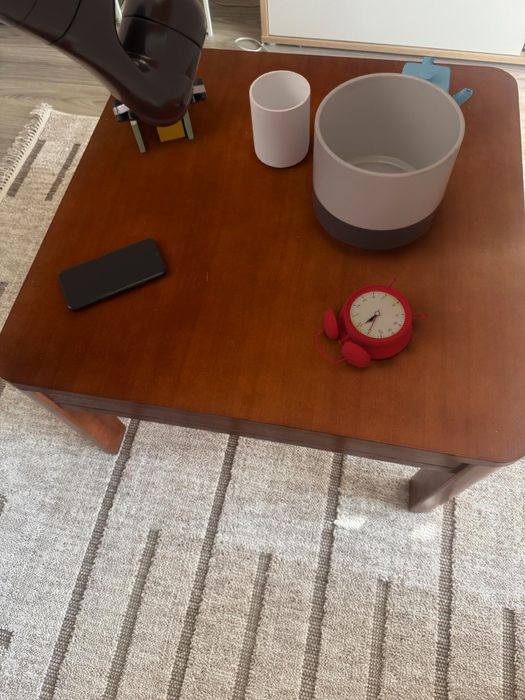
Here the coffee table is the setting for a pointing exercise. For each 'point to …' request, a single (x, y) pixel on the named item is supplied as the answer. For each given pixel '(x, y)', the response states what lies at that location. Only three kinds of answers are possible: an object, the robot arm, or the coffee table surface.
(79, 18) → the robot arm
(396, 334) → the alarm clock
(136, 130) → the bracket
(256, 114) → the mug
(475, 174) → the coffee table surface
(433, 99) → the planter
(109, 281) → the smartphone
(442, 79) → the teapot
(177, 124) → the yellow rectangular block
